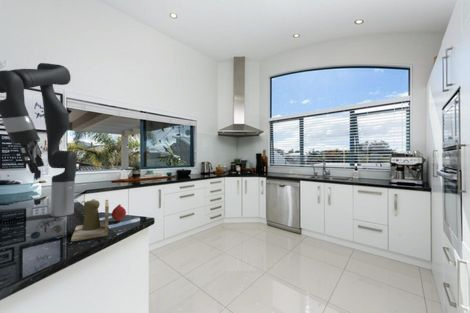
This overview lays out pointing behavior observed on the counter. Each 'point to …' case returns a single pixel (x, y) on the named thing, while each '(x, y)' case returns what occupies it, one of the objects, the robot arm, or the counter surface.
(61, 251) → the counter surface
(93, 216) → the olive yellow tapered cylinder
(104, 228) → the condiment stand
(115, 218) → the onion
